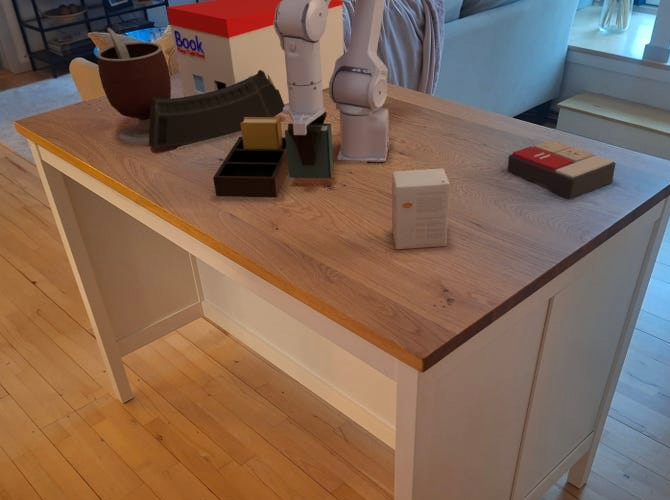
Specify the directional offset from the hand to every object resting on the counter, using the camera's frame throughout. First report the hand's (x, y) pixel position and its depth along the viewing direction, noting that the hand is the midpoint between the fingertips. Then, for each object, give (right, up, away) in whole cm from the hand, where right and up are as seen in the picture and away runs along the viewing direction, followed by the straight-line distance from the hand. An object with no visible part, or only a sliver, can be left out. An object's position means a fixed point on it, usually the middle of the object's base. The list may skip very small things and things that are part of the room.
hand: (310, 159), depth 116 cm
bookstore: (-13, +30, +45) cm, 56 cm away
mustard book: (-9, +3, +12) cm, 15 cm away
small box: (+18, -17, -13) cm, 27 cm away
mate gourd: (-37, +14, +28) cm, 48 cm away
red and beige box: (+45, -3, +2) cm, 45 cm away
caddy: (-10, -1, +8) cm, 13 cm away
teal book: (0, -2, +2) cm, 3 cm away
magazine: (-20, +13, +25) cm, 34 cm away
